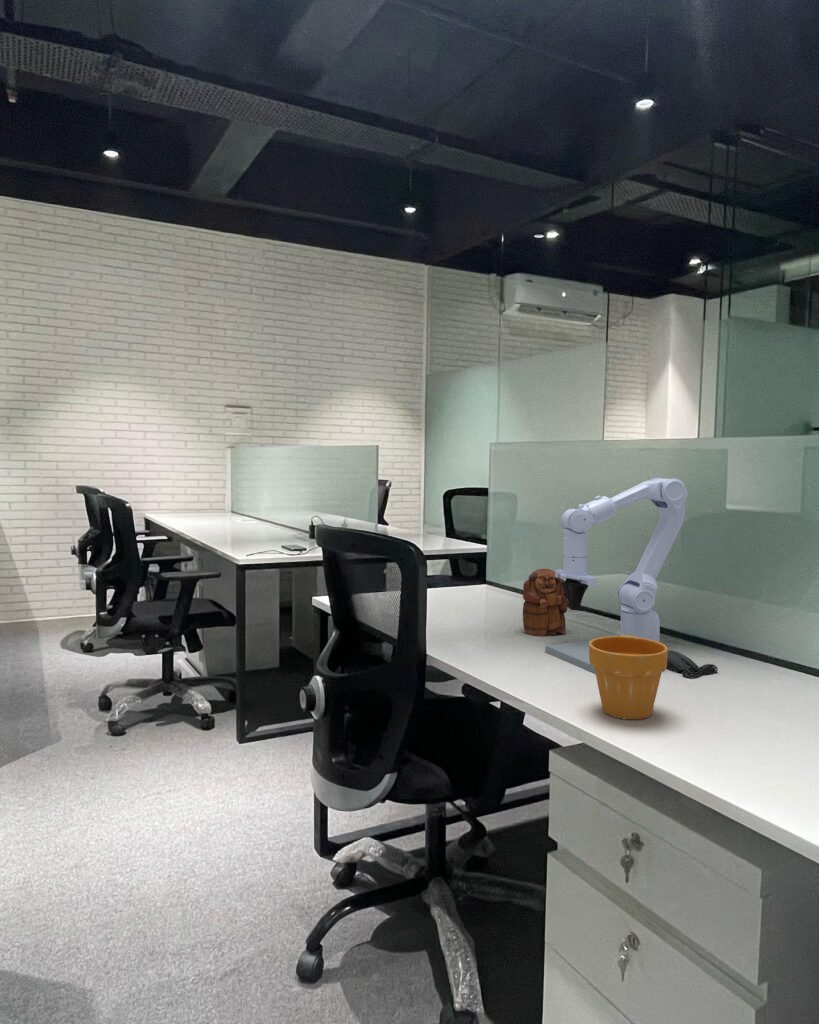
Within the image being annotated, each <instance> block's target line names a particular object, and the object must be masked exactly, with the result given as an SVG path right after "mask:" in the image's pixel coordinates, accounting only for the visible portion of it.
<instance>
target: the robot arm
mask: <svg viewBox="0 0 819 1024" xmlns="http://www.w3.org/2000/svg"><path fill="white" fill-rule="evenodd" d="M688 496H689V492H688V490H687V488H686V486H685V484H684V482H683V481H682V480H680V479H679V478H675V477H674V478H672V477H671V478H661V477H654V478H651V479H650V480H644V481H643V482H640V483H639V484H637V485H634V486H632V487H631V488H627V490H624V491H623V492H619V494H616V495H614V496H612V497H608V496H605V495H602V496H601V495H596V496H594V500H591V501H589V502H587V503H584V504H583V503H580V504H578V505H577V508H569V509H566V510H565V511H564V513H562V515H561V519H559V521H560V526H561V527H562V528H563V569H555V571H554V572H555V577H557V578H559V577H560V578H561V579H563V580H564V579H565V580H564V581H565V582H561V585H562V587H563V589H564V591H565V593H566V596H567V600H568V607H569V610H571V611H579V610H580V608H581V605H582V600H583V598H584V595H585V593H586V591H587V589H588V588H589V587H590V586H597V577H595V576H592V575H590V574H589V573H587V570H588V569H587V567H588V566H587V565H588V564H587V563H588V560H587V559H588V555H587V553H588V531H589V530H590V528H591V527H592V526H595V525H597V524H599V523H601V522H603V521H607V520H608V519H611V518H613V517H614V516H615V514H616V511H617V510H619V509H621V508H624V507H627V506H629V505H632V504H634V503H637V502H639V501H643V500H649V501H650V502H651V503H652V504H653V505H654V506H655V507H656V509H657V511H658V513H659V516H660V519H659V521H658V523H657V525H656V526H655V529H654V531H653V533H652V535H651V537H650V539H649V541H648V544H647V545H646V547H645V550H644V552H643V554H642V557H641V559H640V560H639V563H638V564H637V567H636V569H635V571H634V572H631V574H629V575H628V576H627V578H626V580H625V581H624V582H623V583H622V584H621V585H620V586H619V587H618V588H617V590H616V597H617V601H618V603H620V633H619V634H620V635H621V634H633V635H636V637H639V638H645V639H650V640H654V641H657V642H660V635H661V634H660V633H661V632H660V631H661V628H660V627H661V625H660V624H661V621H660V616H659V614H658V613H657V612H656V611H655V610H653V608H654V606H655V604H656V593H657V591H658V584H657V581H656V579H657V578H658V577H659V576H658V575H659V573H660V571H661V569H662V567H663V565H664V563H665V561H666V558H667V557H668V555H669V553H670V550H671V548H672V547H673V544H674V542H675V540H676V538H677V536H678V533H679V532H680V529H681V528H682V525H683V523H684V521H685V518H686V500H687V498H688ZM620 635H619V636H620Z"/></svg>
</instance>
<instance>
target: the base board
mask: <svg viewBox="0 0 819 1024" xmlns="http://www.w3.org/2000/svg"><path fill="white" fill-rule="evenodd" d="M592 640H593V639H589V640H581V641H580V640H579V641H573V642H565V643H556V644H550V645H549V644H547V645H545V647H544V652H545V653H547V654H549V655H552V656H553V657H556V658H558V659H560V660H563V661H565V662H567V663H569V664H573V665H575V666H577V667H579V668H581V669H584V670H587V671H589V672H590V673H593V674H594V675H596V673H595V669H594V667H593V666H592V665H591V664H590V660H589V643H590V641H592Z"/></svg>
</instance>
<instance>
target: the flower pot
mask: <svg viewBox="0 0 819 1024" xmlns="http://www.w3.org/2000/svg"><path fill="white" fill-rule="evenodd" d="M591 640H592V641H590V643H589V660H590V664H591V665H592V666H593V667H594V669H595V673H596V674H595V673H594V674H595V677H596V682H597V687H598V693H599V698H600V702H601V703H600V704H601V707H602V710H603V712H604V713H605V714H606V713H607V714H606V715H608V714H609V715H608V716H610V715H612V716H615V717H619V718H625V719H624V720H626V719H632V720H634V719H640V720H644V719H643V718H645V719H647V717H648V718H649V717H651V716H652V714H653V710H654V705H655V703H656V702H655V701H656V698H657V693H658V689H659V686H660V681H661V676H662V673H663V672H664V671H666V670H667V669H666V668H667V655H668V650H669V649H668V647H667V646H666V644H665V643H663V642H661V641H659V642H657V641H654V640H650V639H645V638H639V637H630V636H620V635H609V636H601V637H596V638H594V639H591ZM612 716H611V717H612ZM615 717H614V718H615ZM619 718H618V719H619Z"/></svg>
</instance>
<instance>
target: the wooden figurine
mask: <svg viewBox="0 0 819 1024" xmlns="http://www.w3.org/2000/svg"><path fill="white" fill-rule="evenodd" d="M561 582H565V580H564V578H560V577H559V578H557V577H555V571H554V570H553V569H549V568H539V569H536V570H535V571H533V572H532V573H531V574H529V575H528V578H527V580H525V581H524V582H523V591H522V597H523V598H522V599H523V603H522V605H523V606H522V623H523V624H522V625H523V630H524V633H525V634H526V635H530V636H537V637H546V636H557V635H566V630H567V629H566V627H567V626H566V617H565V613H567V611H568V607H569V604H568V600H567V596H566V593H565V591H564V589H563V587H562V585H561Z"/></svg>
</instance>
